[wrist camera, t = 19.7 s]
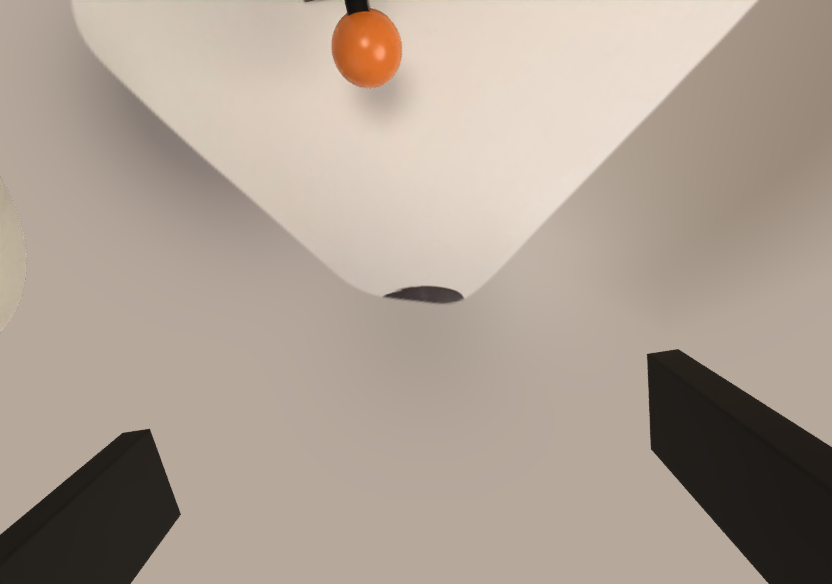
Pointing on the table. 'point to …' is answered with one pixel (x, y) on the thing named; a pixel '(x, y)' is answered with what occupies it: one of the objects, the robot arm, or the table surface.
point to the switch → (366, 45)
